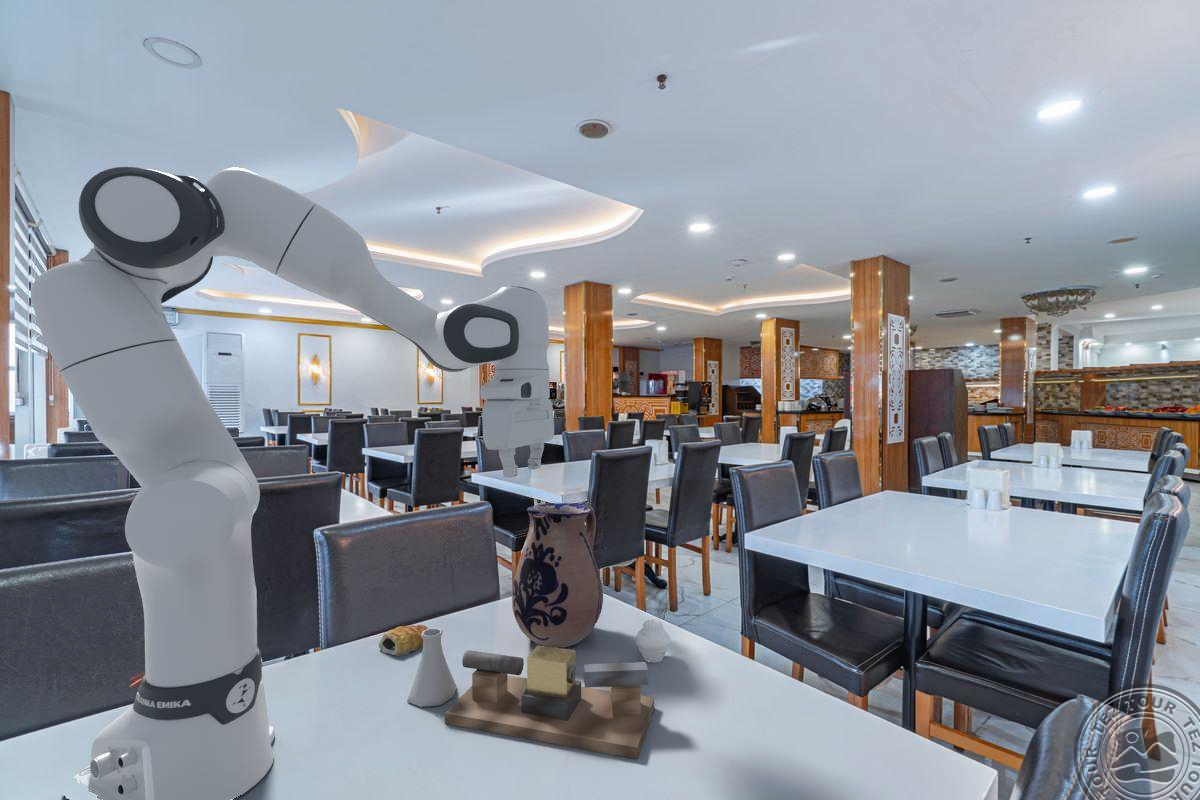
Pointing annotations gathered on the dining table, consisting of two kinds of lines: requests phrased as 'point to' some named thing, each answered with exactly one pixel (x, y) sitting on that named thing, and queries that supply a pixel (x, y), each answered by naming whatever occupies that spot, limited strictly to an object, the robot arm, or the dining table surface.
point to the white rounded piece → (653, 640)
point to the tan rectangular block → (551, 671)
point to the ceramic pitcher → (558, 576)
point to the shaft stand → (557, 705)
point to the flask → (432, 673)
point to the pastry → (402, 640)
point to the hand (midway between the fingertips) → (523, 472)
